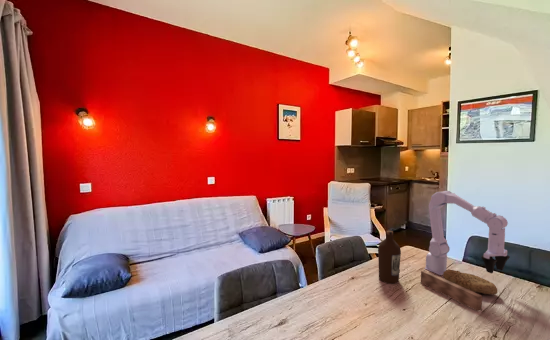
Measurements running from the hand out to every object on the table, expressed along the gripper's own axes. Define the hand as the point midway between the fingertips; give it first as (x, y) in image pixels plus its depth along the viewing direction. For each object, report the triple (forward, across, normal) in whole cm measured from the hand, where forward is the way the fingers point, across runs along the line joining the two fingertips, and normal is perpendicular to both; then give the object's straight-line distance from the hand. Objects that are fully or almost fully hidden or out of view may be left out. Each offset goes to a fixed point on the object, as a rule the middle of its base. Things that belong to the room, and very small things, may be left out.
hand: (494, 271), depth 123 cm
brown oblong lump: (+10, -7, +6) cm, 14 cm away
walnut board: (+10, -23, +6) cm, 25 cm away
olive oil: (+10, -36, +28) cm, 46 cm away
